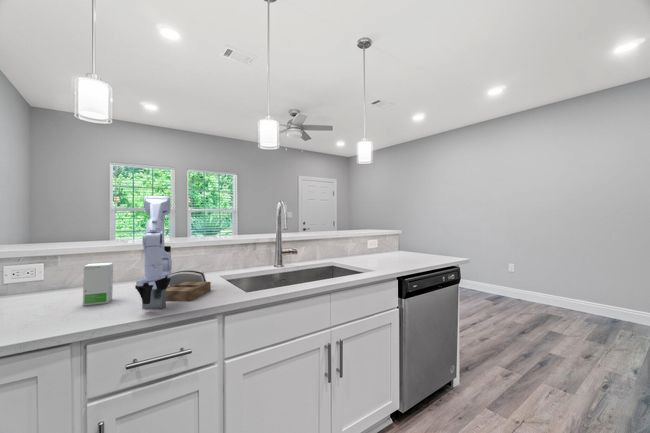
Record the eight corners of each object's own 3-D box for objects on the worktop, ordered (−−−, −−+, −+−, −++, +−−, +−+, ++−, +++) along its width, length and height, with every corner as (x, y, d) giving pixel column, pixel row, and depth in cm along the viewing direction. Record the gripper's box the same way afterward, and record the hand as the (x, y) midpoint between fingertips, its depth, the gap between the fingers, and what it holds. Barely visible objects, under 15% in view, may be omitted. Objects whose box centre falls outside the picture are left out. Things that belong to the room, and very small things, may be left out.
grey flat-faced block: (142, 308, 101) (142, 290, 101) (146, 306, 103) (146, 288, 103) (162, 309, 100) (162, 290, 100) (165, 307, 102) (165, 288, 102)
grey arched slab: (208, 284, 136) (206, 267, 132) (205, 290, 131) (202, 272, 128) (173, 285, 134) (170, 268, 131) (169, 291, 130) (165, 273, 126)
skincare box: (82, 306, 104) (81, 266, 104) (88, 301, 110) (88, 263, 110) (109, 303, 108) (108, 264, 108) (113, 298, 114) (113, 261, 114)
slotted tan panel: (157, 300, 110) (157, 290, 110) (182, 289, 126) (182, 281, 126) (190, 301, 109) (190, 291, 109) (210, 290, 125) (210, 281, 125)
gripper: (149, 268, 94) (149, 307, 94) (176, 261, 108) (176, 295, 108) (130, 268, 95) (130, 306, 95) (159, 261, 109) (160, 294, 109)
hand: (154, 300), depth 101 cm, fingers open, 7 cm apart
